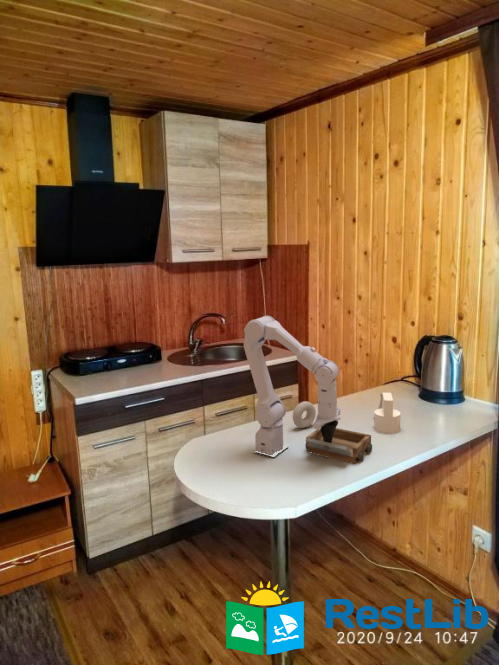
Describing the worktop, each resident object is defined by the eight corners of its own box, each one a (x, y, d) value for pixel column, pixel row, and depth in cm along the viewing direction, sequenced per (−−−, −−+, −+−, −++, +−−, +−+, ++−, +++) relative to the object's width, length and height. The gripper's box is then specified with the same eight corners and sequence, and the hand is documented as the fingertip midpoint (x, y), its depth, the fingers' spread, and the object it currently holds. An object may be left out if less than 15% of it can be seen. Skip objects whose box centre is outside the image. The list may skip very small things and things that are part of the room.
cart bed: (358, 464, 145) (358, 449, 144) (304, 451, 156) (303, 436, 155) (373, 450, 155) (373, 435, 154) (320, 438, 165) (320, 424, 164)
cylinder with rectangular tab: (401, 433, 167) (402, 401, 165) (374, 432, 169) (375, 400, 166) (398, 424, 176) (399, 392, 173) (373, 423, 177) (373, 392, 175)
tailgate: (349, 458, 146) (344, 452, 142) (309, 449, 153) (304, 442, 150) (351, 453, 146) (346, 446, 143) (311, 444, 154) (306, 437, 151)
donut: (296, 432, 172) (296, 405, 170) (290, 429, 174) (290, 403, 172) (317, 425, 177) (317, 399, 175) (311, 423, 180) (311, 397, 178)
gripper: (328, 411, 137) (329, 455, 140) (349, 396, 149) (349, 437, 151) (307, 407, 141) (307, 450, 144) (328, 393, 153) (328, 433, 155)
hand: (327, 443), depth 148 cm, fingers closed, pressing on tailgate
